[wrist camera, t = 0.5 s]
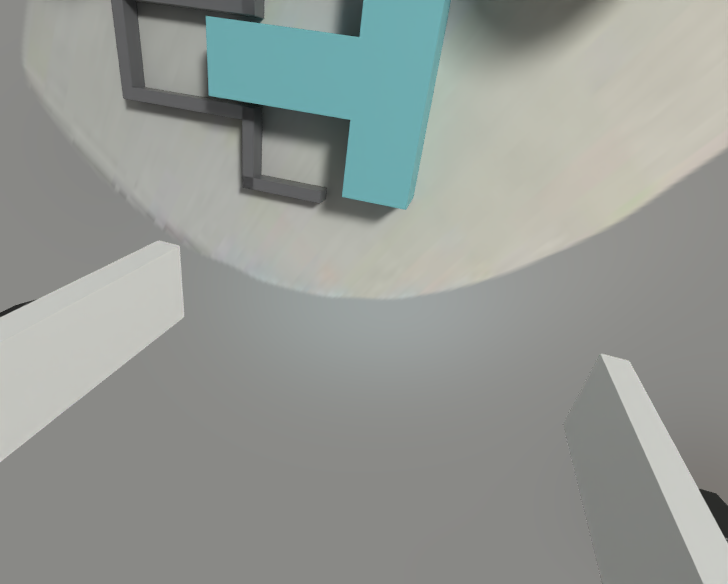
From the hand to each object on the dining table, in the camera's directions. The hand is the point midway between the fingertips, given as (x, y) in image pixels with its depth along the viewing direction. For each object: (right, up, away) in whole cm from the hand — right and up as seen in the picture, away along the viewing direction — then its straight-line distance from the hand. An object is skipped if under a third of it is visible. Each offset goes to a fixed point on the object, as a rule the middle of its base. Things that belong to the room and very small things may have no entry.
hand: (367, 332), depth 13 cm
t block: (-3, +18, +19) cm, 26 cm away
